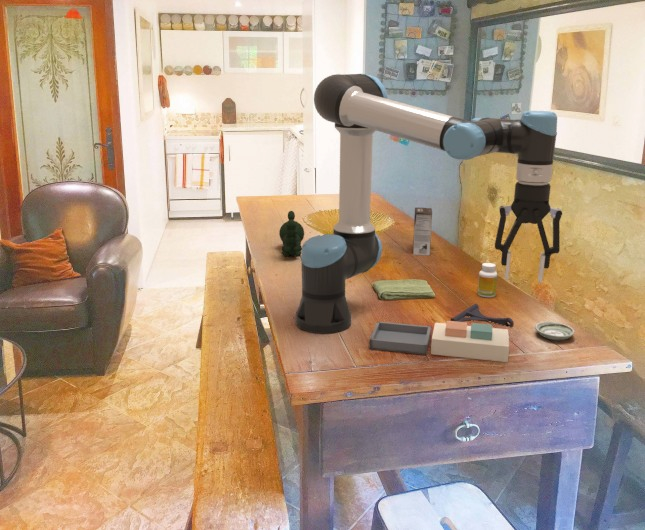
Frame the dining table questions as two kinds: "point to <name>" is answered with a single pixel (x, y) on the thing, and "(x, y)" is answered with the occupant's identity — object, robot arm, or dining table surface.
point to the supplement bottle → (487, 280)
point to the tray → (400, 338)
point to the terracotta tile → (456, 329)
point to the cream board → (471, 345)
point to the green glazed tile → (481, 331)
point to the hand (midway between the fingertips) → (523, 279)
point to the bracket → (480, 316)
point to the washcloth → (403, 289)
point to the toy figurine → (291, 236)
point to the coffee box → (422, 231)
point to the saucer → (554, 330)
